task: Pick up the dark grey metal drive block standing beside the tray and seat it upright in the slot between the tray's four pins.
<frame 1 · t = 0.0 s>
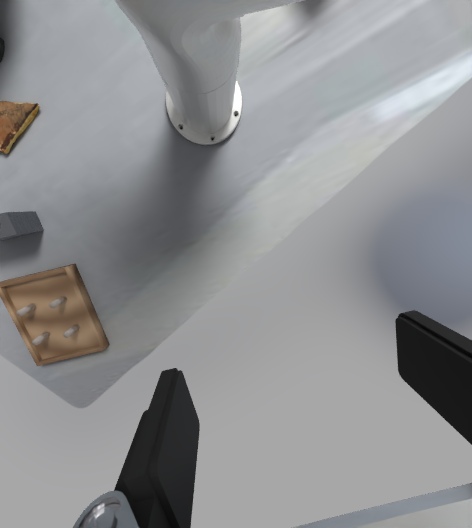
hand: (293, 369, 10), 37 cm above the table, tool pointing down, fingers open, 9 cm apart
pin tray: (59, 314, 47), on the table
drive block: (18, 226, 42), on the table
shard: (4, 118, 39), on the table
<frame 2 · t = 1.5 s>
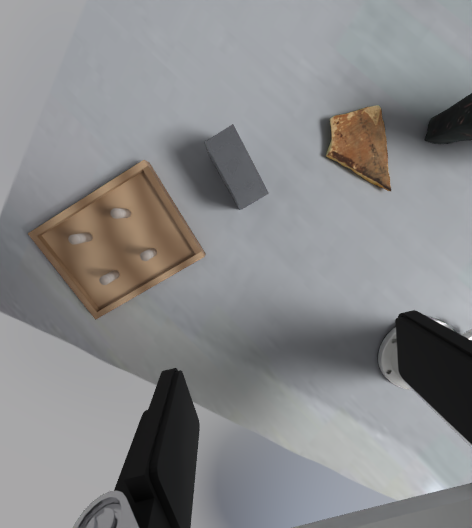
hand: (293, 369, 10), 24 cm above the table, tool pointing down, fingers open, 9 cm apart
pin tray: (124, 243, 32), on the table
drive block: (235, 176, 31), on the table
shard: (363, 145, 31), on the table
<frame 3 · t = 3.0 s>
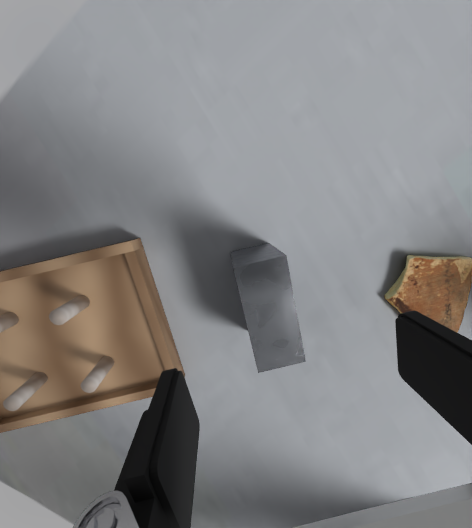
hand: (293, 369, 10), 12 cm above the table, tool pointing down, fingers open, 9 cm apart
pin tray: (69, 333, 21), on the table
drive block: (258, 288, 22), on the table
shard: (432, 293, 23), on the table
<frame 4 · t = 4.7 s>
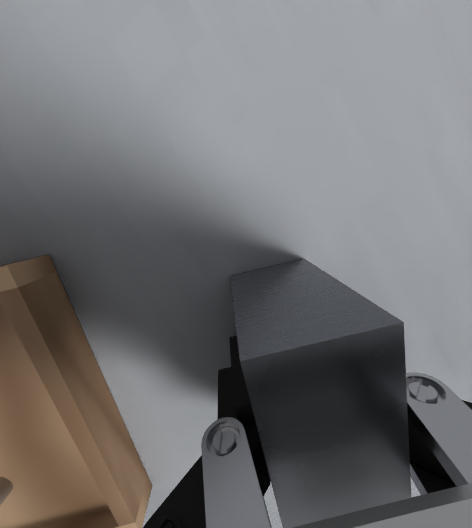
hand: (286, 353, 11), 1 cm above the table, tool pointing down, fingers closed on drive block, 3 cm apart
drive block: (281, 342, 12), on the table, touching gripper
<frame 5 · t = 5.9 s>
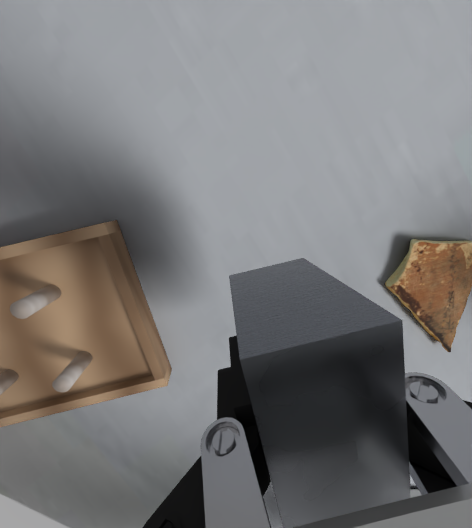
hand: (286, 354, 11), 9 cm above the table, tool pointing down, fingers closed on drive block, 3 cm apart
pin tray: (41, 327, 19), on the table
drive block: (281, 341, 12), point 9 cm above the table, touching gripper
shard: (434, 280, 22), on the table
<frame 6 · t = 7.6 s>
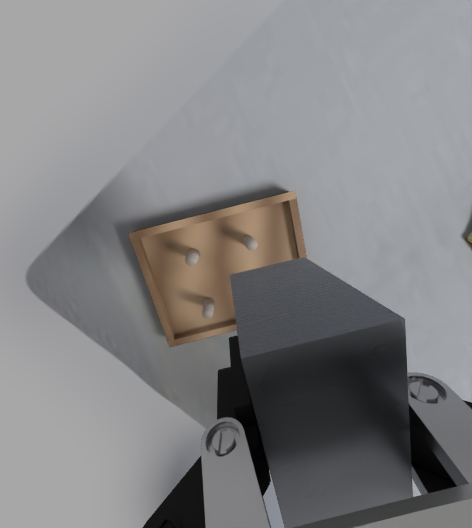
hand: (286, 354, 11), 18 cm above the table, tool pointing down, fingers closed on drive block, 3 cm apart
pin tray: (227, 269, 28), on the table
drive block: (281, 340, 12), point 17 cm above the table, touching gripper
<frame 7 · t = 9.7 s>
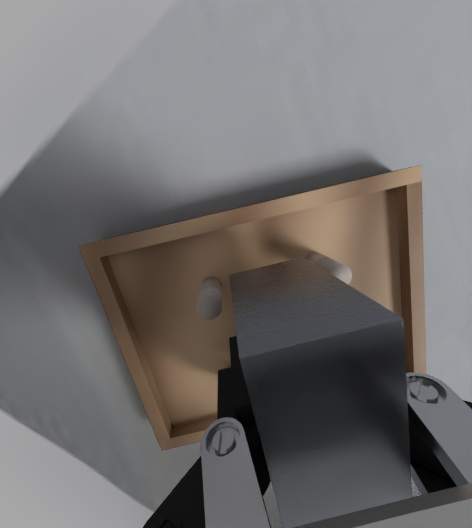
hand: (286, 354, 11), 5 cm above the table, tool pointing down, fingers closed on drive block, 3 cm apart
pin tray: (268, 310, 16), on the table
drive block: (281, 340, 12), point 4 cm above the table, touching gripper
when the fingers open (3 cm above the table, at t = 10.3 s): drive block stays where it is, resting on pin tray.
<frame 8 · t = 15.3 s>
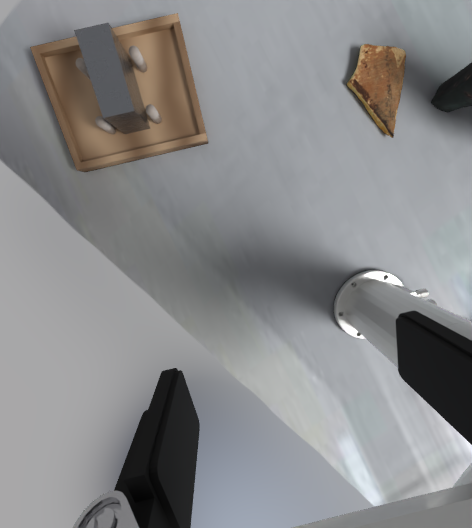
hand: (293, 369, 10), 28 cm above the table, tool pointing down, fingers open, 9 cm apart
pin tray: (130, 102, 31), on the table
drive block: (127, 98, 30), point 1 cm above the table, touching pin tray
shard: (380, 88, 34), on the table
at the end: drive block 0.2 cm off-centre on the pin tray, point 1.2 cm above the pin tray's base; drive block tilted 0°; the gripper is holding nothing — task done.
